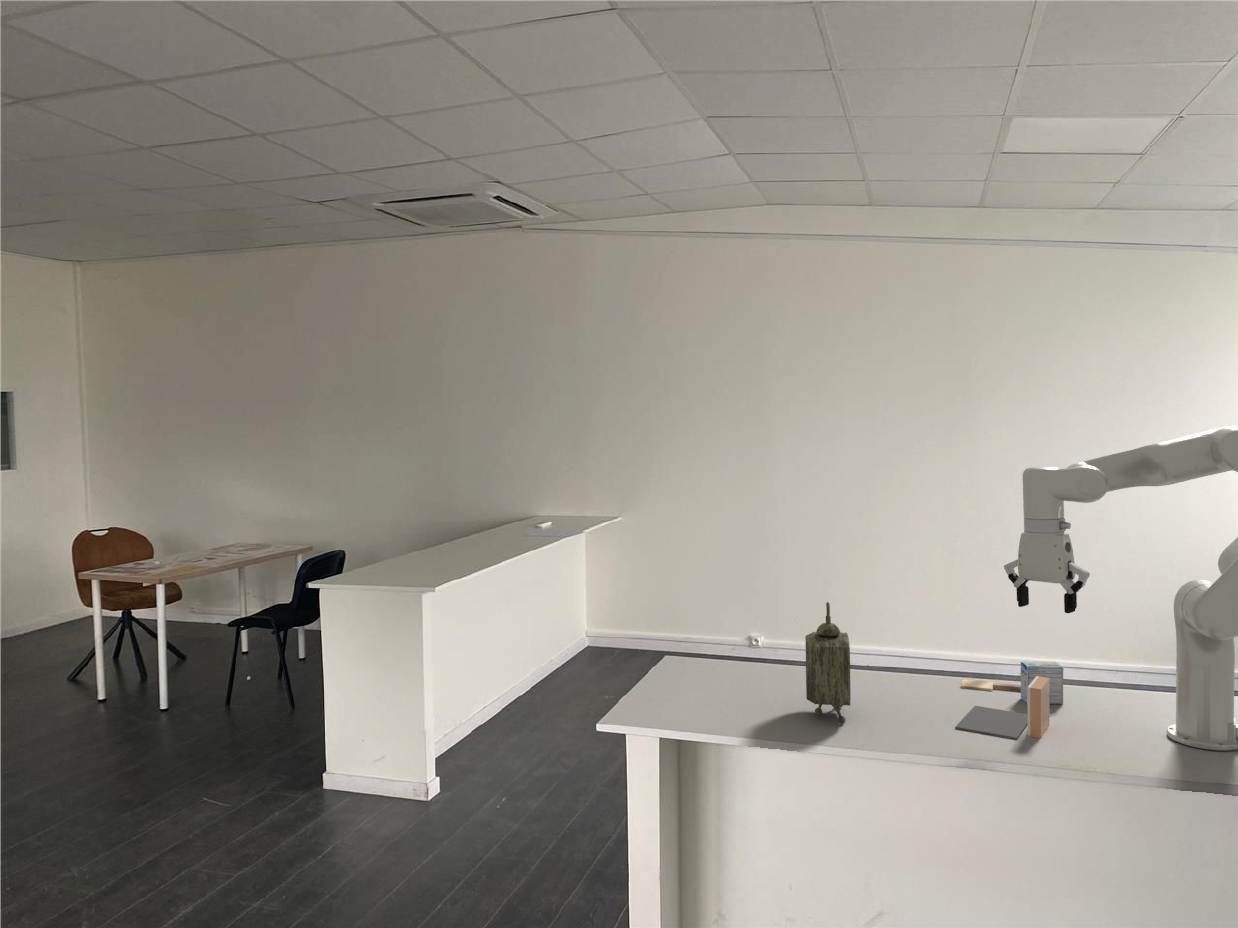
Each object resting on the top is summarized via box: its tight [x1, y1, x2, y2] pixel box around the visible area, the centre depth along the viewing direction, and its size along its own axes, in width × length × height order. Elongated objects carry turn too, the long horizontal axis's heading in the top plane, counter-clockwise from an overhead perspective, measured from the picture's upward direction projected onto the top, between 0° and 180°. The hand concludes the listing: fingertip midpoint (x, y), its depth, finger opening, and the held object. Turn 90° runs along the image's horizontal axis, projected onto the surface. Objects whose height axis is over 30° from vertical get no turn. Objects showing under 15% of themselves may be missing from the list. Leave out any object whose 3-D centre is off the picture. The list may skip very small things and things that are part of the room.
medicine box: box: [1020, 661, 1065, 705], centre depth 198 cm, size 8×4×9 cm, turn 84°
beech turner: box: [960, 678, 1021, 692], centre depth 209 cm, size 17×6×1 cm, turn 64°
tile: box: [1027, 676, 1050, 739], centre depth 180 cm, size 2×9×10 cm, turn 144°
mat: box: [954, 705, 1028, 740], centre depth 186 cm, size 12×16×1 cm
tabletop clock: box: [804, 601, 851, 725], centre depth 192 cm, size 14×9×25 cm, turn 168°
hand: (1046, 608), depth 181 cm, fingers open, 9 cm apart
